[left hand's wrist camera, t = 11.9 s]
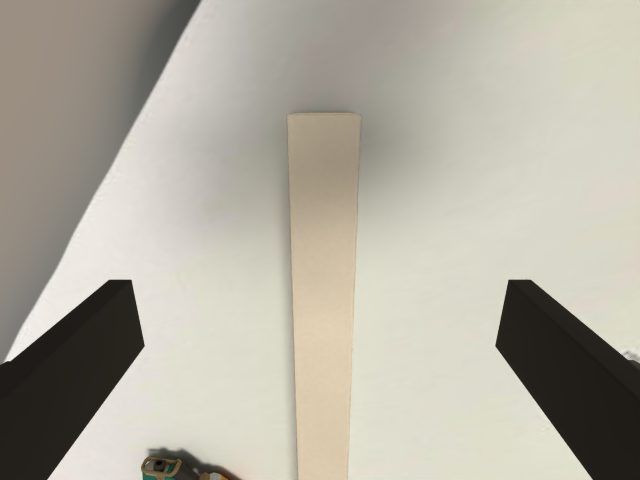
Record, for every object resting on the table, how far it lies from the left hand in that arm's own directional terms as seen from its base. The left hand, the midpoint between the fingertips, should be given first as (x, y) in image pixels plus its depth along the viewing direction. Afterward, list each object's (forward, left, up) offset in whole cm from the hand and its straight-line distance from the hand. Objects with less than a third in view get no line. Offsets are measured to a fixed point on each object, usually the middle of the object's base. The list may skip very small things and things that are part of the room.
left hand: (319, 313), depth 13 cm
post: (+24, +18, -23) cm, 38 cm away
